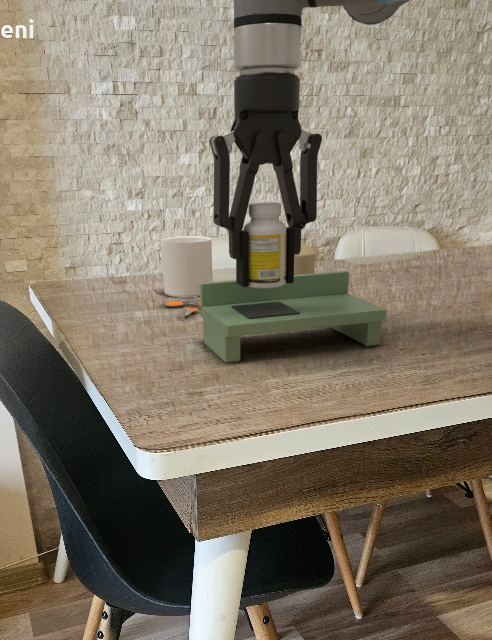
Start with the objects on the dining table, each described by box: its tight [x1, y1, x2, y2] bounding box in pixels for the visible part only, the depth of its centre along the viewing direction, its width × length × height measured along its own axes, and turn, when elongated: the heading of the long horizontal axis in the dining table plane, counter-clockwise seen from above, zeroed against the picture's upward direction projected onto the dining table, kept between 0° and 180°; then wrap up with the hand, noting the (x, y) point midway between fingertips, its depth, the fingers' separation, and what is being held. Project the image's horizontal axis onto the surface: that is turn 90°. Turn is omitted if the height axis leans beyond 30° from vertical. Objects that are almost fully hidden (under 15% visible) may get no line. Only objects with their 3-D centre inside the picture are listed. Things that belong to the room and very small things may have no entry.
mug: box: [160, 235, 214, 298], centre depth 122 cm, size 12×9×9 cm
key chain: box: [164, 296, 201, 317], centre depth 111 cm, size 13×7×1 cm, turn 21°
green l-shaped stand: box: [199, 270, 388, 364], centre depth 90 cm, size 12×22×8 cm, turn 108°
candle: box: [294, 241, 316, 275], centre depth 110 cm, size 6×6×10 cm
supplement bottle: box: [243, 201, 287, 288], centre depth 84 cm, size 5×5×10 cm
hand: (264, 282), depth 86 cm, fingers closed on supplement bottle, 5 cm apart
